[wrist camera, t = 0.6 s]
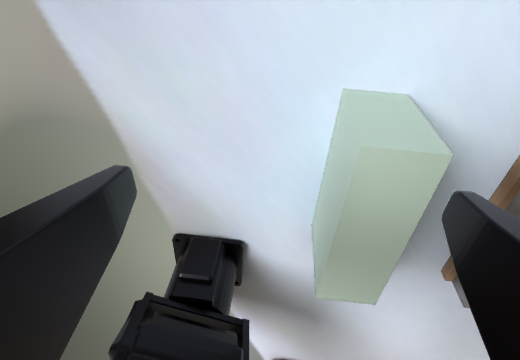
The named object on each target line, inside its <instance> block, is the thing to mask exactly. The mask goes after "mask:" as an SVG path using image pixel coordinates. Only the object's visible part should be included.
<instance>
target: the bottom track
mask: <svg viewBox="0 0 520 360" xmlns="http://www.w3.org/2000/svg"><path fill="white" fill-rule="evenodd" d="M489 201H490V202H491V203H493V204H495V205H497V206H498V207H500V208H502V209H504V210H505V211H507V212H509V213H510V214H512V215H514V216H516V217H517V218H519V219H520V156H519V157H518V159H517V160H516V162H515V163H514V165H513V166H512V168H511V169H510V170H509V172H508V173H507V175H506V176H505V178H504V179H503V181H502V182H501V184H500V185H499V187H498V188H497V190H496V191H495V192H494V194H493V195H492V197H491V198H490V200H489ZM441 273H442V275H443V277H444V279H445V280H446V281H452V283H453V285H454V287H455V289H456V291H457V294H458V296H459V298H460V300H461V302H462V304H463V307H465V308H470V307H469V304H468V302H467V299H466V297H465V294H464V291H463V289H462V286H461V284H460V281H459V279H458V276H457V273H456V270H455V267H454V264H453V260H452V257H450V258H449V260H448V261H447V263H446V264H445V266H444V267H443V269H442V270H441Z"/></svg>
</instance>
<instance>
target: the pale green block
mask: <svg viewBox="0 0 520 360" xmlns="http://www.w3.org/2000/svg"><path fill="white" fill-rule="evenodd" d="M453 156H454V155H453V154H452V152H451V151H450V150H449V148H448V147H447V145H446V144H445V143H444V141H443V140H442V139H441V137H440V136H439V135H438V133H437V132H436V131H435V129H434V128H433V127H432V125H431V124H430V123H429V121H428V120H427V119H426V117H425V116H424V115H423V113H422V112H421V111H420V109H419V108H418V107H417V105H416V104H415V103H414V101H413V100H412V99H411V97H410V96H409V95H408V94H397V93H386V92H376V91H365V90H354V89H343V90H342V95H341V99H340V104H339V108H338V112H337V117H336V121H335V125H334V130H333V134H332V138H331V143H330V147H329V152H328V156H327V160H326V165H325V169H324V173H323V178H322V182H321V187H320V191H319V195H318V200H317V204H316V208H315V213H314V217H313V221H312V240H313V259H314V277H315V296H316V298H320V299H329V300H337V301H346V302H354V303H362V304H371V305H375V304H376V302H377V300H378V299H379V297H380V295H381V293H382V291H383V289H384V287H385V285H386V283H387V281H388V279H389V278H390V276H391V274H392V272H393V270H394V268H395V266H396V264H397V262H398V260H399V259H400V257H401V255H402V253H403V251H404V249H405V247H406V245H407V243H408V241H409V239H410V238H411V236H412V234H413V232H414V230H415V228H416V226H417V224H418V222H419V220H420V218H421V217H422V215H423V213H424V211H425V209H426V207H427V205H428V203H429V201H430V199H431V198H432V196H433V194H434V192H435V190H436V188H437V186H438V184H439V182H440V180H441V178H442V177H443V175H444V173H445V171H446V169H447V167H448V165H449V163H450V161H451V159H452V157H453Z"/></svg>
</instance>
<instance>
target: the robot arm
mask: <svg viewBox="0 0 520 360" xmlns="http://www.w3.org/2000/svg"><path fill="white" fill-rule="evenodd" d="M136 194H137V190H136V185H135V181H134V177H133V173H132V170H131V168H130V167H128V166H120V165H114V166H112V167H109V168H107V169H105V170H103V171H101V172H99V173H96V174H94V175H92V176H90V177H88V178H86V179H83V180H81V181H79V182H77V183H75V184H73V185H70V186H68V187H66V188H64V189H62V190H60V191H58V192H55V193H53V194H51V195H49V196H47V197H44V198H43V199H40V200H38V201H36V202H34V203H31V204H29V205H27V206H25V207H23V208H21V209H18V210H16V211H14V212H12V213H10V214H8V215H6V216H3V217H1V218H0V360H60V358H61V356H62V354H63V352H64V350H65V348H66V346H67V344H68V342H69V340H70V338H71V336H72V334H73V332H74V330H75V328H76V327H77V324H78V323H79V321H80V319H81V317H82V315H83V313H84V311H85V309H86V306H87V305H88V303H89V301H90V299H91V297H92V295H93V293H94V291H95V289H96V287H97V285H98V283H99V281H100V279H101V277H102V275H103V273H104V271H105V269H106V267H107V265H108V263H109V261H110V259H111V257H112V256H113V253H114V252H115V250H116V247H117V245H118V243H119V241H120V239H121V236H122V234H123V231H124V228H125V225H126V223H127V220H128V218H129V215H130V212H131V209H132V207H133V204H134V201H135V198H136ZM442 223H443V227H444V230H445V234H446V238H447V242H448V245H449V249H450V253H451V257H452V260H453V264H454V267H455V270H456V273H457V276H458V279H459V281H460V284H461V286H462V289H463V291H464V294H465V297H466V299H467V302H468V304H469V307H470V309H471V312H472V314H473V317H474V319H475V322H476V324H477V327H478V329H479V332H480V334H481V337H482V340H483V342H484V345H485V347H486V350H487V352H488V355H489V357H490V360H520V219H519V218H517V217H516V216H514V215H512V214H510V213H509V212H507V211H505V210H504V209H502V208H500V207H498V206H497V205H495V204H493V203H491V202H490V201H488V200H486V199H484V198H483V197H481V196H479V195H477V194H476V193H474V192H468V191H456V192H454V193H453V195H452V196H451V198H450V200H449V202H448V204H447V206H446V208H445V210H444V212H443V215H442ZM172 241H173V247H174V253H175V259H176V266H175V269H174V272H173V274H172V277H171V280H170V282H169V285H168V288H167V290H166V293H165V296H164V298H163V297H160V296H156V295H153V293H150V292H146V294H145V296H144V298H143V299H142V300H138V301H135V303H134V305H133V308H132V310H131V312H130V314H129V316H128V318H127V320H126V322H125V324H124V325H123V327H122V329H121V330H120V332H119V334H118V335H117V337H116V339H115V340H114V342H113V344H112V345H111V347H110V350H109V352H108V354H109V357H110V360H249V320H247V319H239V318H235V317H232V316H229V312H230V307H231V301H232V296H233V290H234V286H240V285H241V282H242V264H243V243H242V242H241V241H238V240H229V239H220V238H212V237H203V236H194V235H185V234H175V235H174V236H173V239H172Z"/></svg>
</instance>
